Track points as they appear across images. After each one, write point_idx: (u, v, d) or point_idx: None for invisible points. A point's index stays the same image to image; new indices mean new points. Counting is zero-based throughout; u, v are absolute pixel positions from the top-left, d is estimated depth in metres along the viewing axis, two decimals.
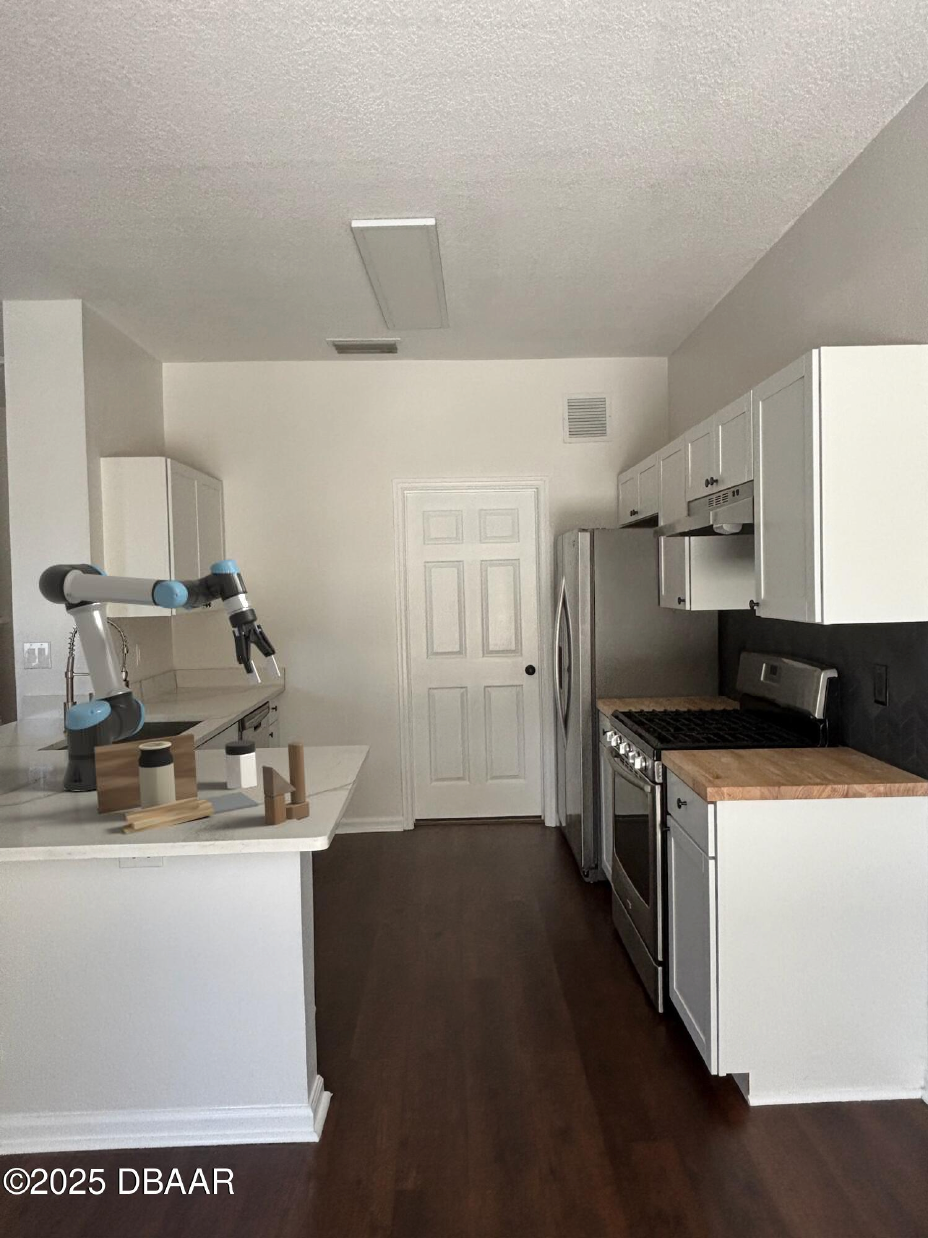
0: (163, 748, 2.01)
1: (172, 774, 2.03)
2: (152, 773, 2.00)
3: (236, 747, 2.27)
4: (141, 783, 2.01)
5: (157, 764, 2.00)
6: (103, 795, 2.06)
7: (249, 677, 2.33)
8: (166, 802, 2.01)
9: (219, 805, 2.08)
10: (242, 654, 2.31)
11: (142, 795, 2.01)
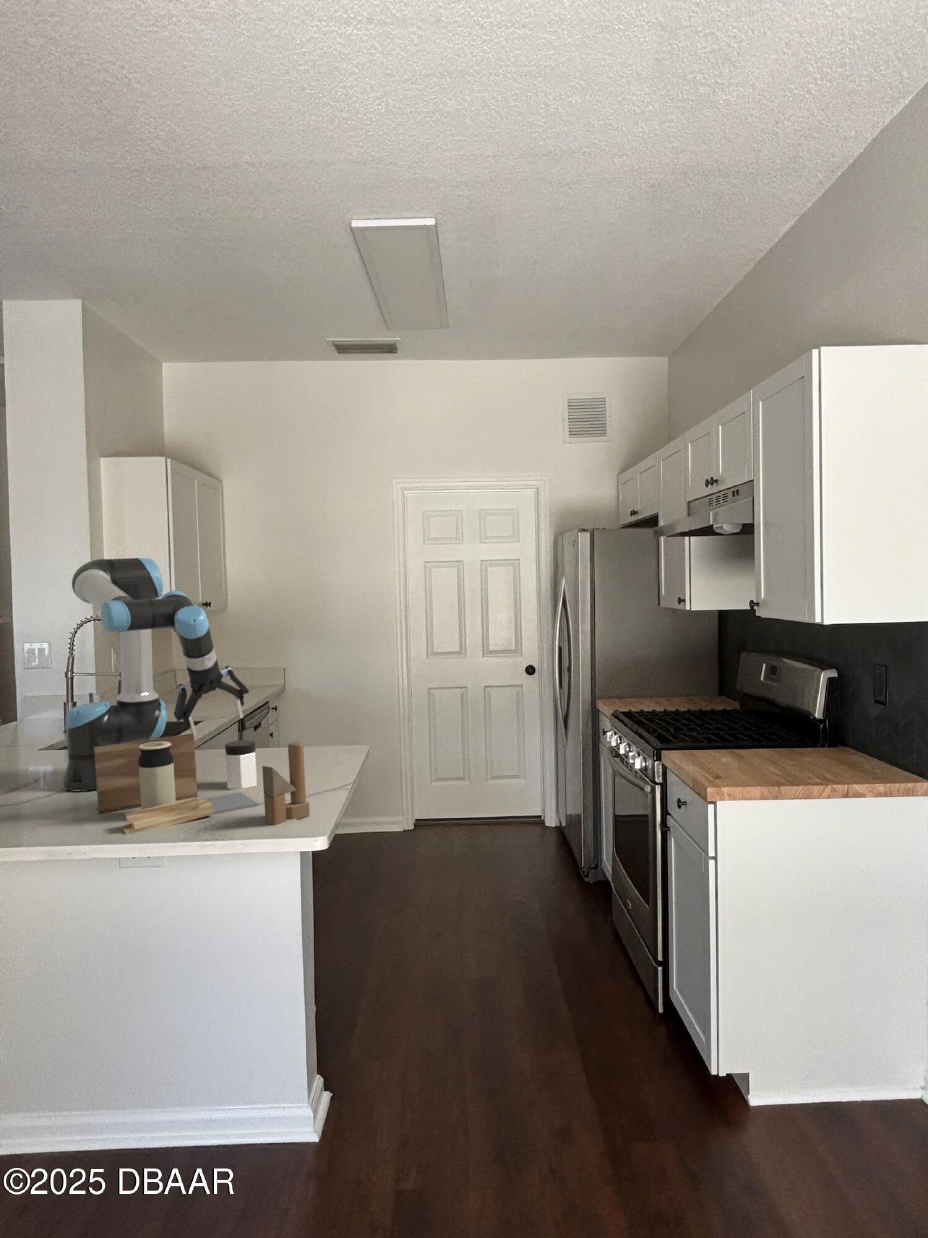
0: (163, 748, 2.01)
1: (172, 774, 2.03)
2: (152, 773, 2.00)
3: (236, 747, 2.27)
4: (141, 783, 2.01)
5: (157, 764, 2.00)
6: (103, 795, 2.06)
7: None
8: (166, 802, 2.01)
9: (219, 805, 2.08)
10: (177, 715, 2.12)
11: (142, 795, 2.01)
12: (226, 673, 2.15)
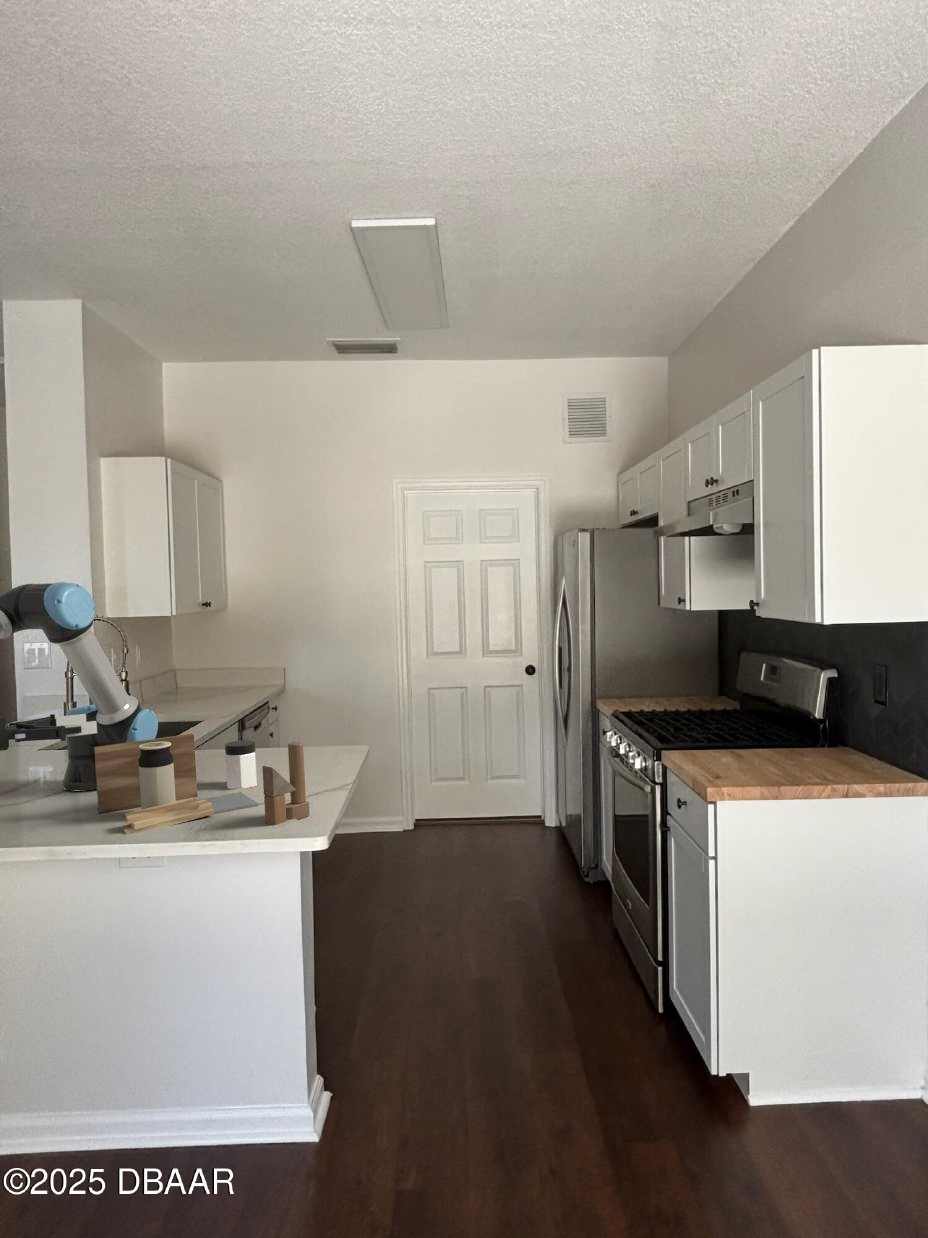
0: (163, 748, 2.01)
1: (172, 774, 2.03)
2: (152, 773, 2.00)
3: (236, 747, 2.27)
4: (141, 783, 2.01)
5: (157, 764, 2.00)
6: (103, 795, 2.06)
7: None
8: (166, 802, 2.01)
9: (219, 805, 2.08)
10: None
11: (142, 795, 2.01)
12: None
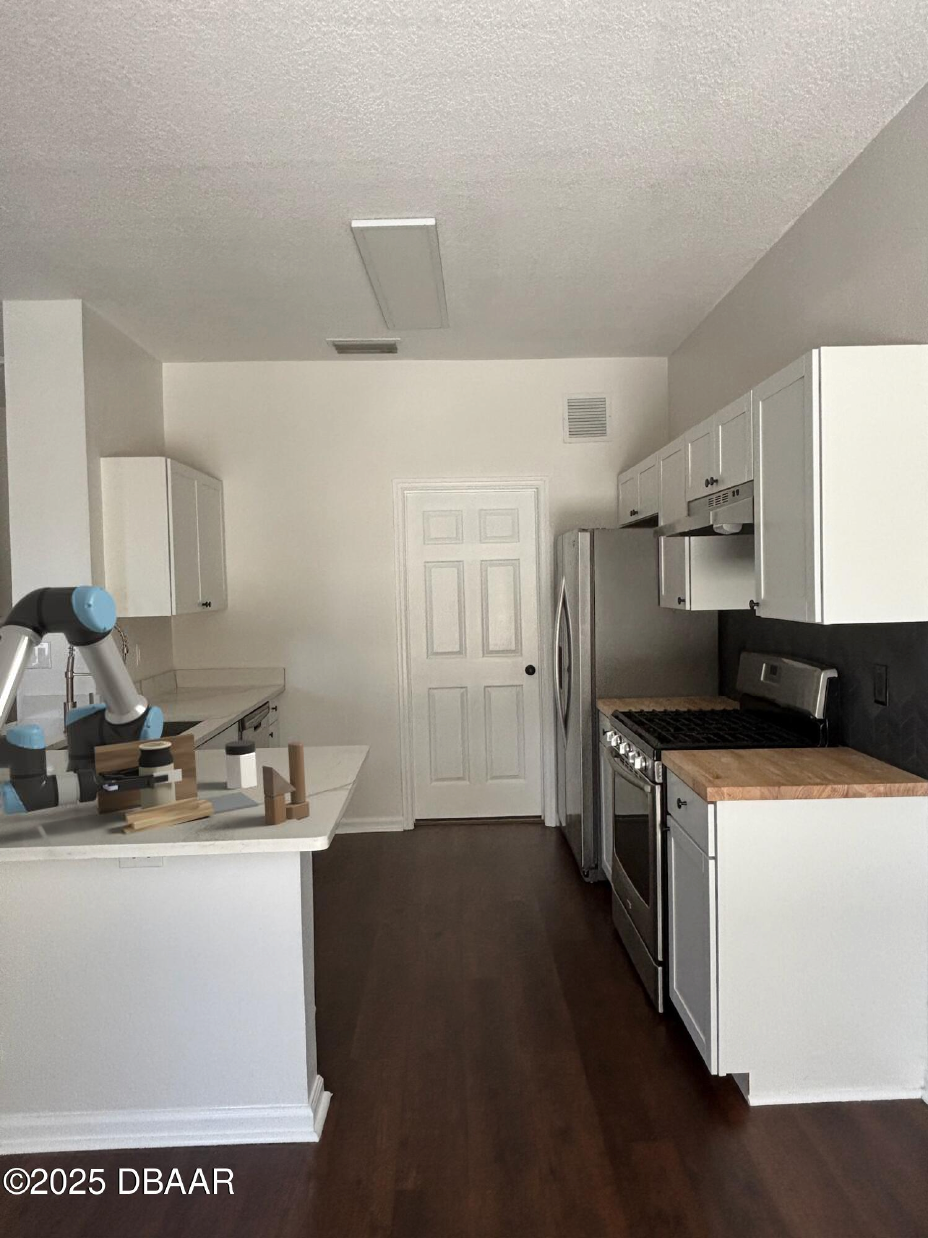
0: (163, 748, 2.01)
1: None
2: (152, 773, 2.00)
3: (236, 747, 2.27)
4: None
5: (157, 764, 2.00)
6: (103, 795, 2.06)
7: None
8: (166, 802, 2.01)
9: (219, 805, 2.08)
10: None
11: (142, 795, 2.01)
12: None
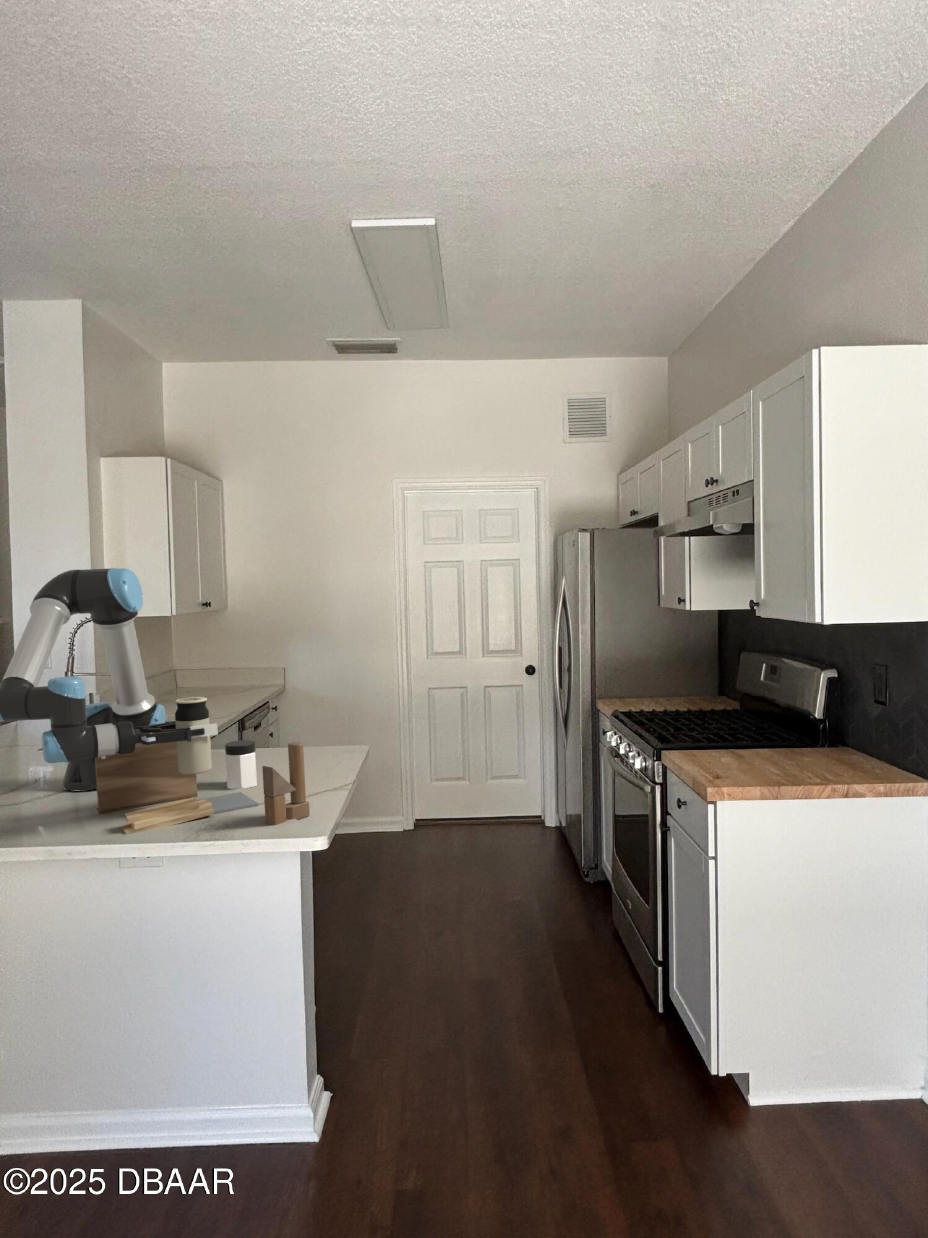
0: (199, 702, 2.04)
1: None
2: (189, 726, 2.02)
3: (236, 747, 2.27)
4: None
5: (194, 718, 2.02)
6: (103, 795, 2.06)
7: None
8: (202, 756, 2.04)
9: (219, 805, 2.08)
10: None
11: (179, 748, 2.04)
12: None
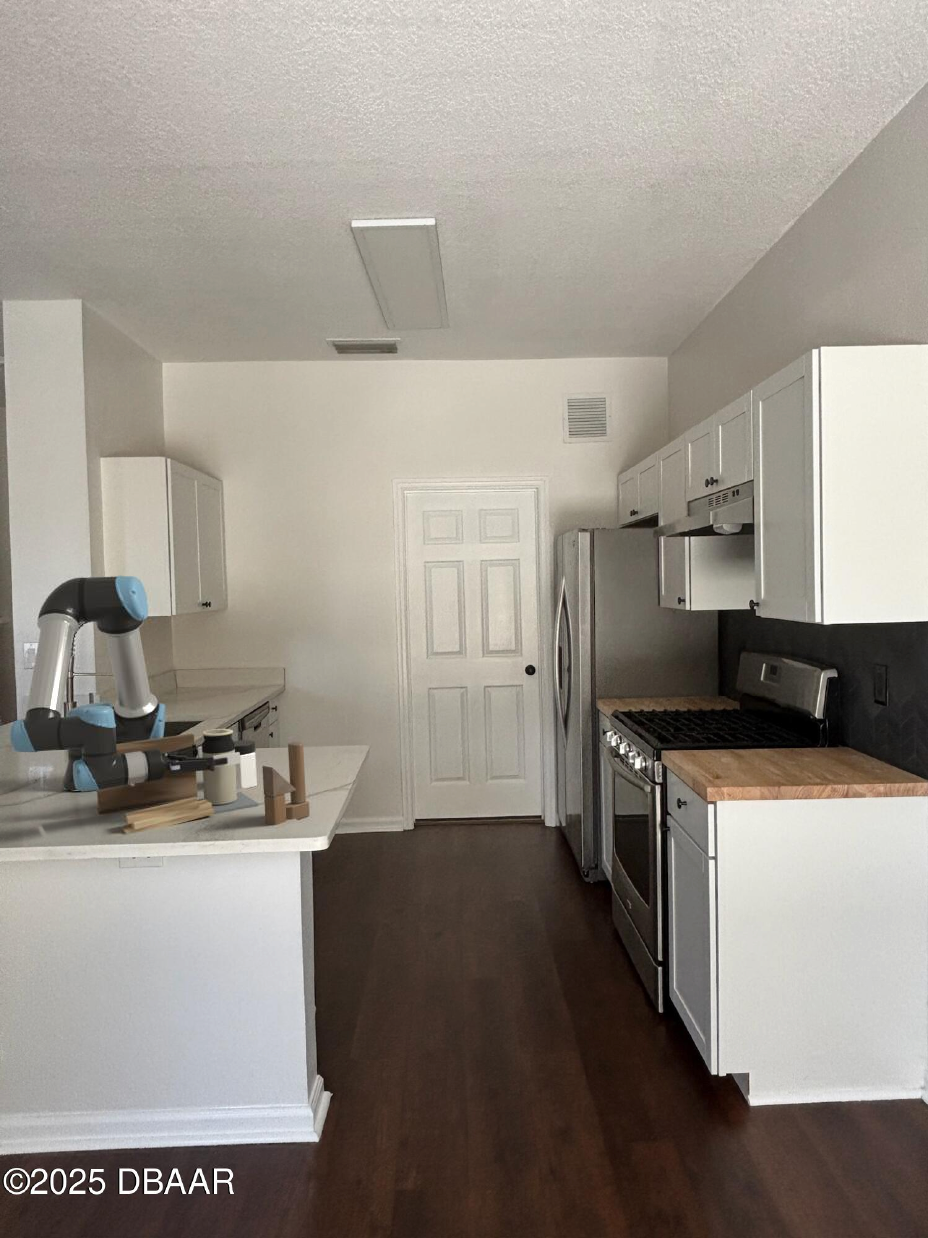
0: (226, 735, 2.08)
1: None
2: None
3: (236, 747, 2.27)
4: None
5: (221, 750, 2.07)
6: (103, 795, 2.06)
7: None
8: (228, 787, 2.09)
9: (219, 805, 2.08)
10: None
11: (205, 780, 2.08)
12: None
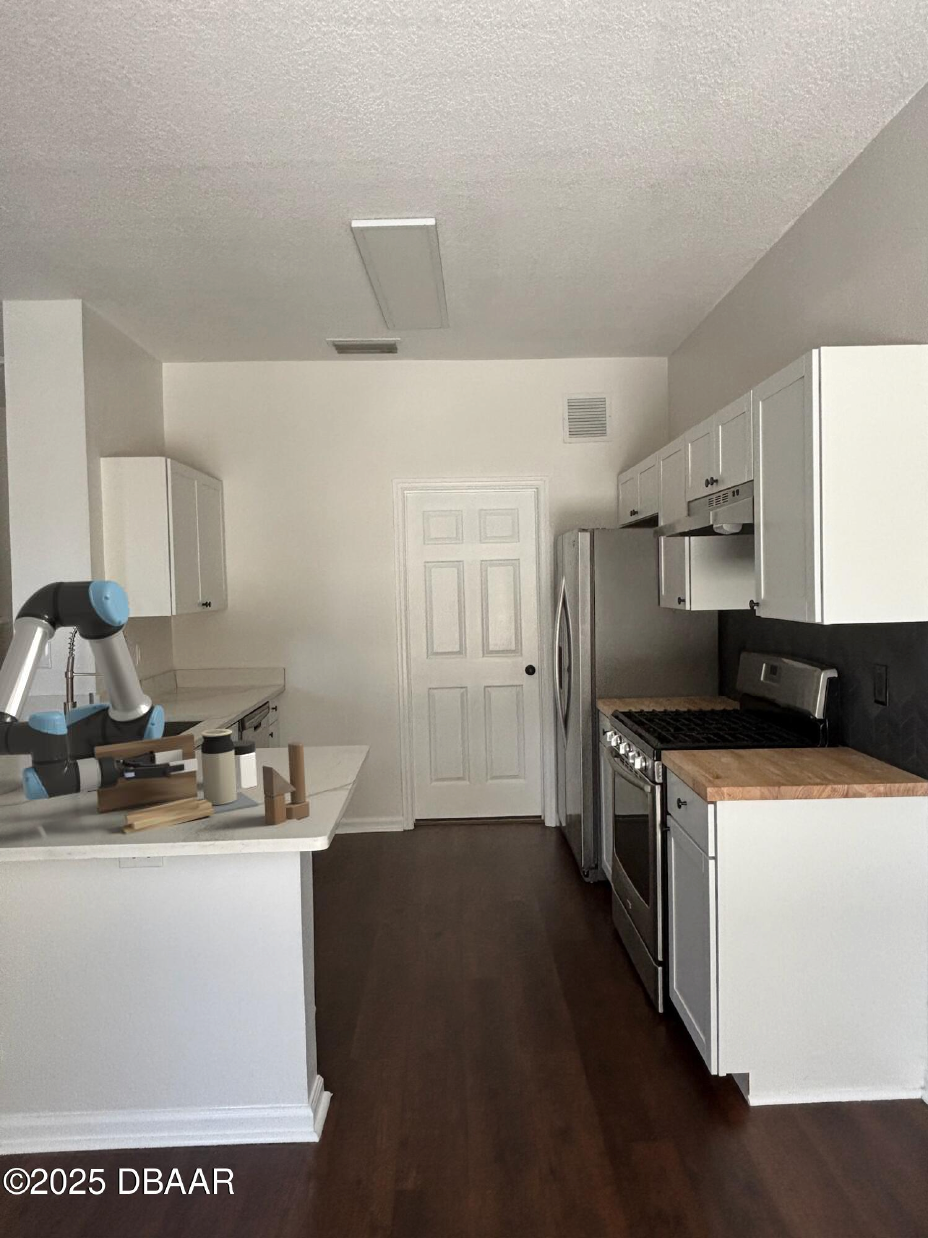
0: (225, 735, 2.08)
1: (233, 760, 2.11)
2: (215, 759, 2.07)
3: (236, 747, 2.27)
4: (204, 769, 2.08)
5: (220, 751, 2.07)
6: (103, 795, 2.06)
7: None
8: (228, 787, 2.08)
9: (219, 805, 2.08)
10: None
11: (205, 780, 2.08)
12: None
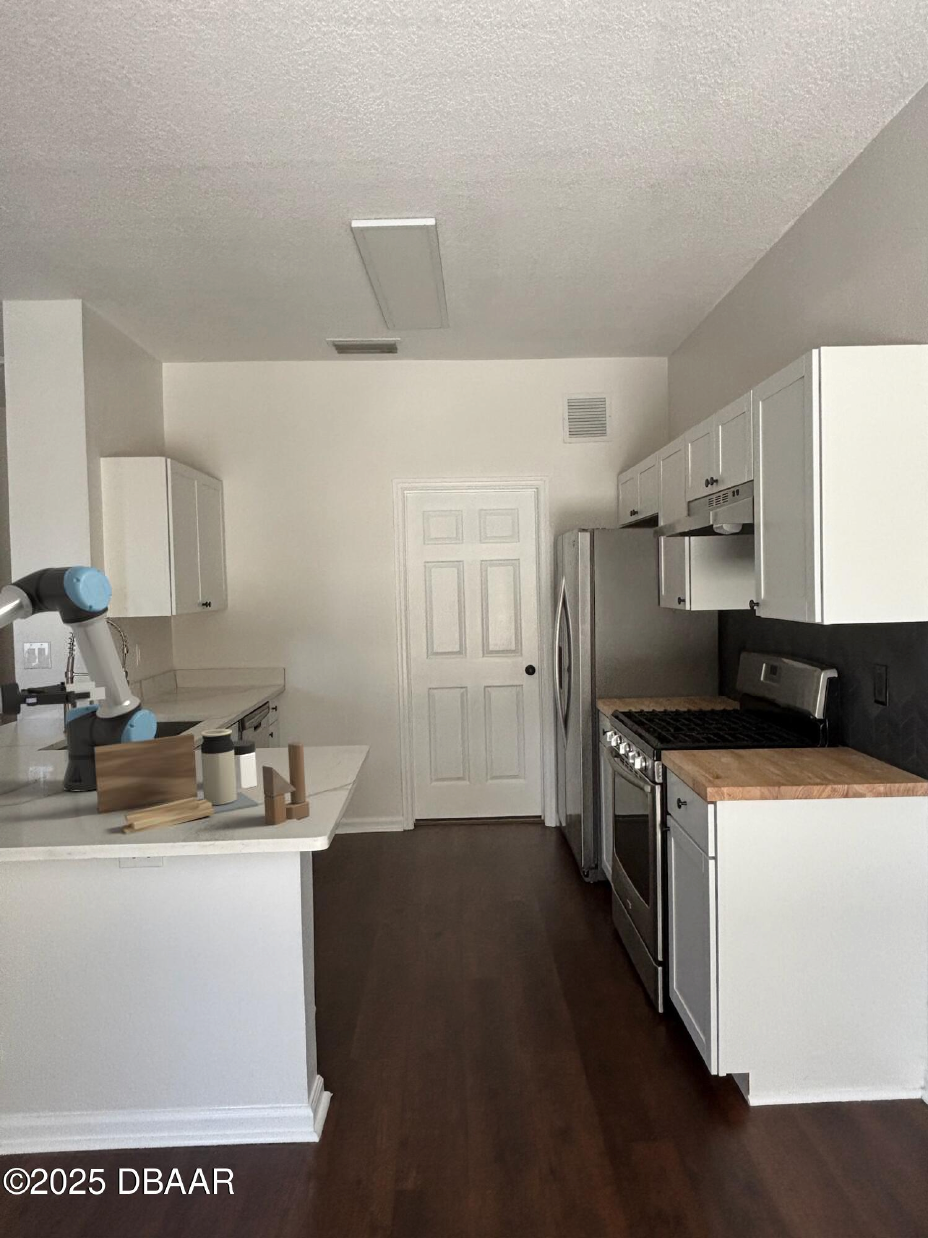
0: (225, 735, 2.08)
1: (233, 760, 2.11)
2: (215, 759, 2.07)
3: (236, 747, 2.27)
4: (204, 769, 2.08)
5: (220, 750, 2.07)
6: (103, 795, 2.06)
7: None
8: (228, 787, 2.09)
9: (219, 805, 2.08)
10: None
11: (205, 780, 2.08)
12: None
